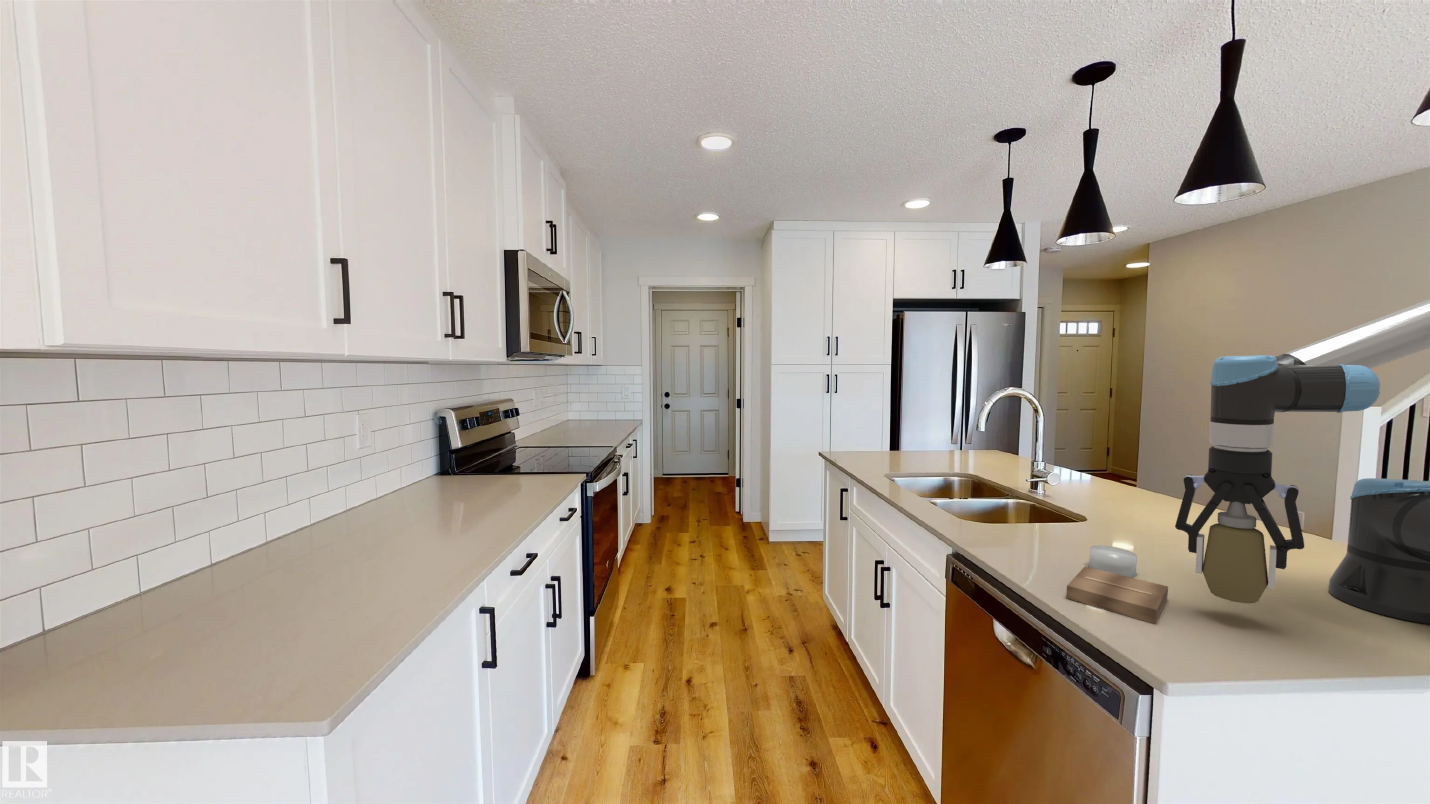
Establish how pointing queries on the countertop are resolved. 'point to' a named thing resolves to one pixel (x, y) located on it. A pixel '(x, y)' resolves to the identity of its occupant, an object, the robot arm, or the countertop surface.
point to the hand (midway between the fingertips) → (1234, 578)
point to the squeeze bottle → (1236, 557)
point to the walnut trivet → (1118, 594)
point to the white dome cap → (1113, 560)
